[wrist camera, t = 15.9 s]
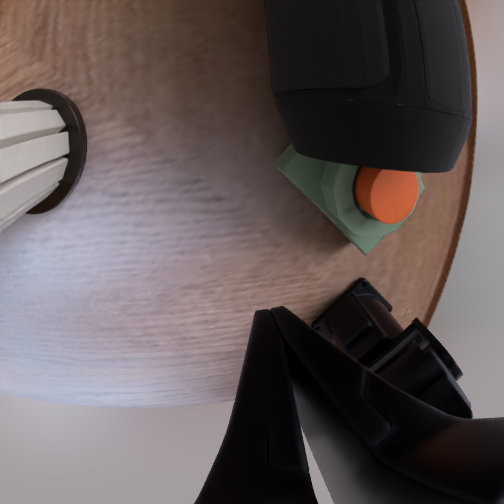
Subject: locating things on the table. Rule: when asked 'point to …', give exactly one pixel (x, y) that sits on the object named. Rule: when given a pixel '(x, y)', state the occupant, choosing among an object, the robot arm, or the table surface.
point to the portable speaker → (372, 81)
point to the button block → (336, 196)
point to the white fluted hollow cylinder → (29, 156)
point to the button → (386, 193)
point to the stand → (76, 144)
